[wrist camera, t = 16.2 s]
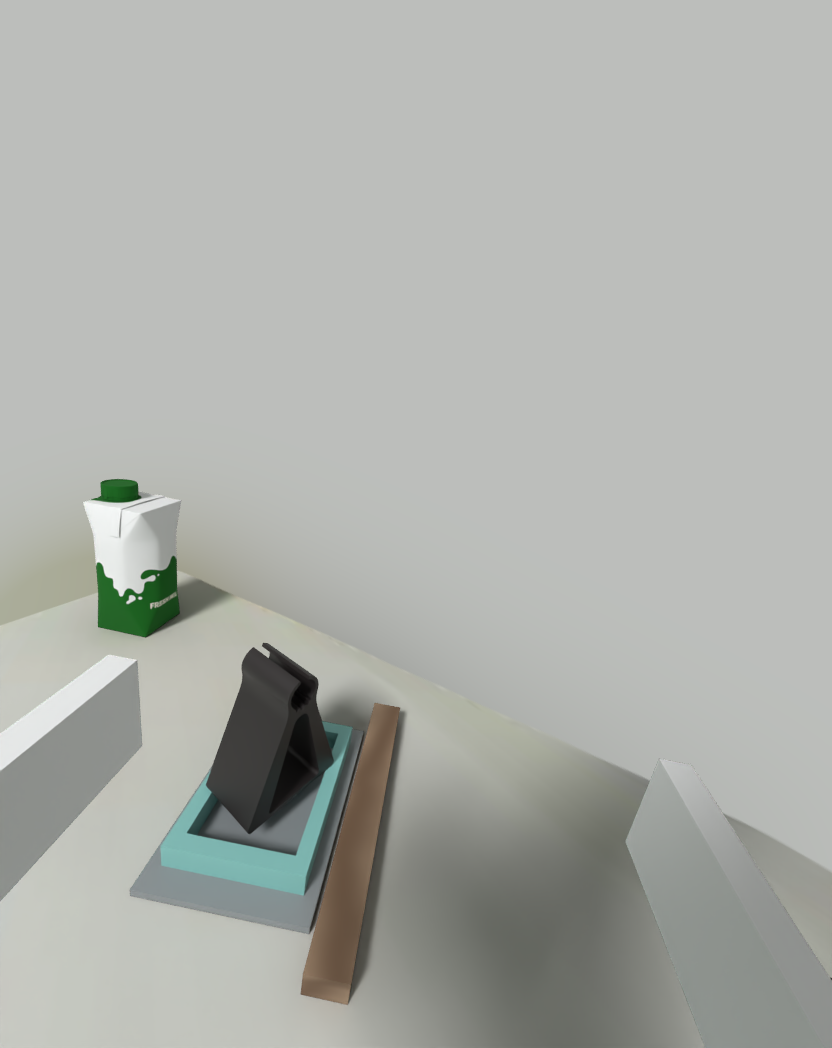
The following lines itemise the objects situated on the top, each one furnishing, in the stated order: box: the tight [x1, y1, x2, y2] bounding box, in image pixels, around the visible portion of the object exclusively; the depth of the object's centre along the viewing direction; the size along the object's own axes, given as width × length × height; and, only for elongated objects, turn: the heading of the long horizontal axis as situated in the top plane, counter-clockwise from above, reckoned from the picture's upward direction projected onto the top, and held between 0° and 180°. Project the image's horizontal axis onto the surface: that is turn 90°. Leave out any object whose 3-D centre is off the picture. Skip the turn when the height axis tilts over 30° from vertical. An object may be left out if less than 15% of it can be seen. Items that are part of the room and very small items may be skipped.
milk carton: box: [83, 479, 181, 637], centre depth 57 cm, size 9×9×20 cm
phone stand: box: [206, 643, 334, 834], centre depth 35 cm, size 9×6×12 cm, turn 144°
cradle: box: [130, 721, 364, 934], centre depth 37 cm, size 13×18×3 cm
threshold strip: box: [301, 703, 400, 1005], centre depth 37 cm, size 3×24×2 cm, turn 175°
